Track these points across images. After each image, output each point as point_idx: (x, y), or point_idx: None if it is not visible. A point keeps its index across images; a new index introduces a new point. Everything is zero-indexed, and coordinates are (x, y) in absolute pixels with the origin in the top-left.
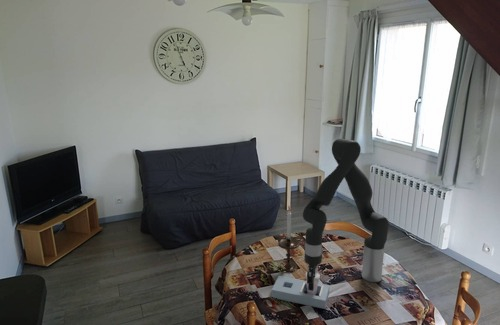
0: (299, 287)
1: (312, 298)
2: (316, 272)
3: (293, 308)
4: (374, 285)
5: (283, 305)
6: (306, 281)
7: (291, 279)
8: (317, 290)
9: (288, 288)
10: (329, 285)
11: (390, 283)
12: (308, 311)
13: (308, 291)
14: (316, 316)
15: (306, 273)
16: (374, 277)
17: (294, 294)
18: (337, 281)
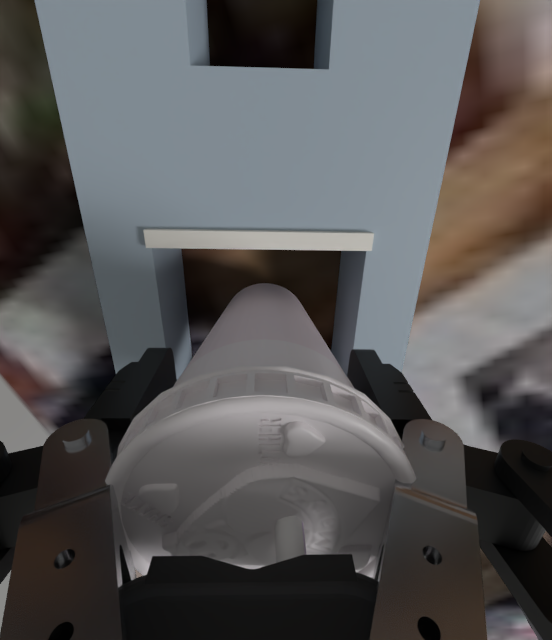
0: (252, 194)
1: (118, 367)
2: (359, 567)
3: (24, 173)
4: (484, 591)
5: (2, 39)
6: (413, 257)
7: (436, 5)
8: (338, 354)
9: (164, 16)
10: None
11: (507, 632)
12: (66, 311)
13: (225, 309)
14: (45, 372)
15: (263, 415)
16: (536, 630)
17: (69, 158)
18: None
